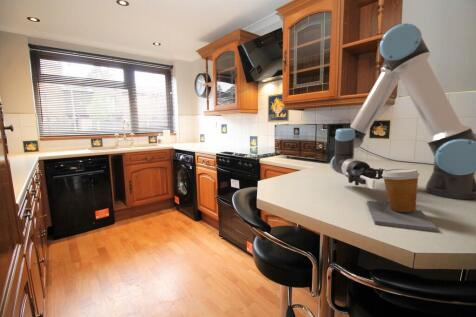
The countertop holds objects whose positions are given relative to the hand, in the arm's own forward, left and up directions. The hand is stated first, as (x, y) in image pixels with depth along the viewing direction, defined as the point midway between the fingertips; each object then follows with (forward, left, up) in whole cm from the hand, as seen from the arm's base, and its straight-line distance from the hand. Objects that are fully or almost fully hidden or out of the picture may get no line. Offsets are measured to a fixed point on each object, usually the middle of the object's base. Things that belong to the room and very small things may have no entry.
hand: (395, 183), depth 71 cm
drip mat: (-1, +1, -10) cm, 10 cm away
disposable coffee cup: (-3, -1, -8) cm, 9 cm away
